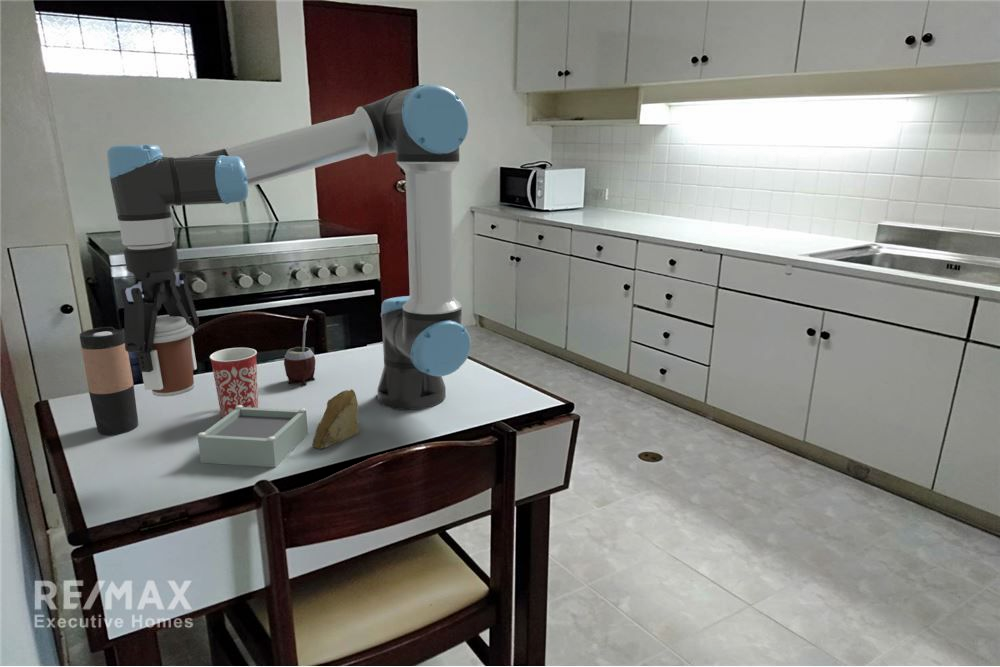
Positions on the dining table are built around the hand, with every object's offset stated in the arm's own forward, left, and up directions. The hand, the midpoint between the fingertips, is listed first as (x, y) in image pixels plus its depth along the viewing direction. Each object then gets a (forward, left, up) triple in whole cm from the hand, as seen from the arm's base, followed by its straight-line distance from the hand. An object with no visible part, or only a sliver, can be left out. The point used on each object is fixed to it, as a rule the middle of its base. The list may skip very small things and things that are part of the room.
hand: (172, 378), depth 111 cm
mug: (+3, -25, -17) cm, 30 cm away
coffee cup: (0, 0, -2) cm, 2 cm away
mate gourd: (-2, -45, -17) cm, 48 cm away
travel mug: (+23, -14, -17) cm, 32 cm away
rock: (-22, -15, -17) cm, 31 cm away
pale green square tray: (-9, -9, -16) cm, 21 cm away
